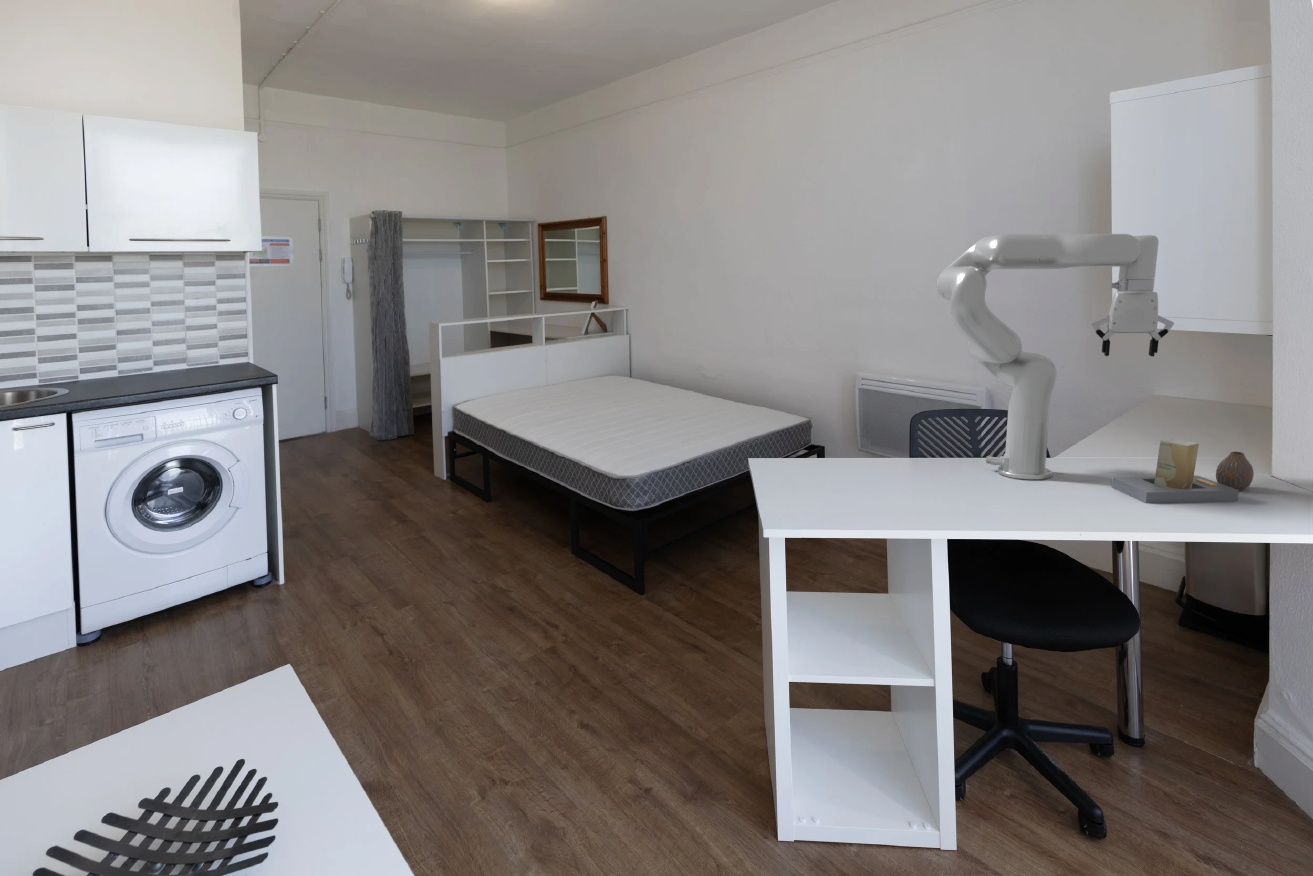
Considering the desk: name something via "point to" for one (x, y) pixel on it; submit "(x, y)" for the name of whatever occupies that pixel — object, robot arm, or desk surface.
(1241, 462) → the vase
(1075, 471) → the desk surface
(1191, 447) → the skincare box
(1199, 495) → the socket dock
